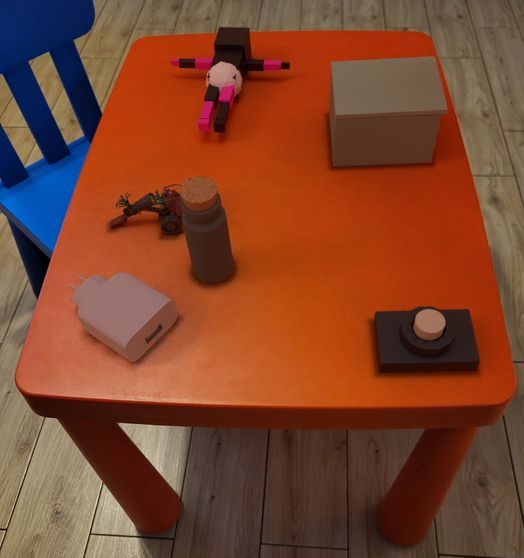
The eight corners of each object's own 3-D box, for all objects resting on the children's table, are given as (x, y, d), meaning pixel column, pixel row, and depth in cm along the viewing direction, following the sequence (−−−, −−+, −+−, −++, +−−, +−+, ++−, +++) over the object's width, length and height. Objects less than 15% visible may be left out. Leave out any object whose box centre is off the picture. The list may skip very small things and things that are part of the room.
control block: (465, 318, 80) (472, 300, 77) (476, 370, 76) (483, 353, 73) (373, 321, 81) (376, 302, 78) (379, 372, 77) (382, 355, 73)
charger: (102, 271, 89) (179, 318, 83) (56, 313, 85) (133, 365, 79) (93, 249, 85) (173, 297, 79) (44, 291, 81) (124, 345, 76)
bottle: (233, 284, 86) (220, 205, 73) (191, 284, 86) (172, 206, 74) (234, 252, 89) (223, 172, 77) (195, 253, 90) (177, 173, 77)
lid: (434, 60, 97) (434, 55, 96) (447, 114, 90) (448, 109, 89) (330, 66, 98) (331, 61, 97) (335, 119, 91) (335, 114, 90)
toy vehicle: (209, 218, 90) (179, 185, 84) (128, 257, 95) (95, 228, 89) (208, 187, 93) (179, 153, 88) (130, 226, 99) (98, 196, 93)
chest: (420, 109, 104) (428, 61, 97) (431, 162, 97) (441, 115, 90) (329, 113, 105) (330, 66, 98) (333, 166, 98) (335, 119, 91)
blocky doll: (294, 59, 115) (293, 25, 109) (277, 146, 102) (275, 113, 96) (181, 56, 118) (175, 23, 112) (151, 141, 104) (142, 108, 99)
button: (440, 316, 76) (443, 308, 75) (444, 340, 74) (447, 332, 73) (411, 317, 77) (413, 309, 75) (415, 341, 75) (417, 333, 73)
